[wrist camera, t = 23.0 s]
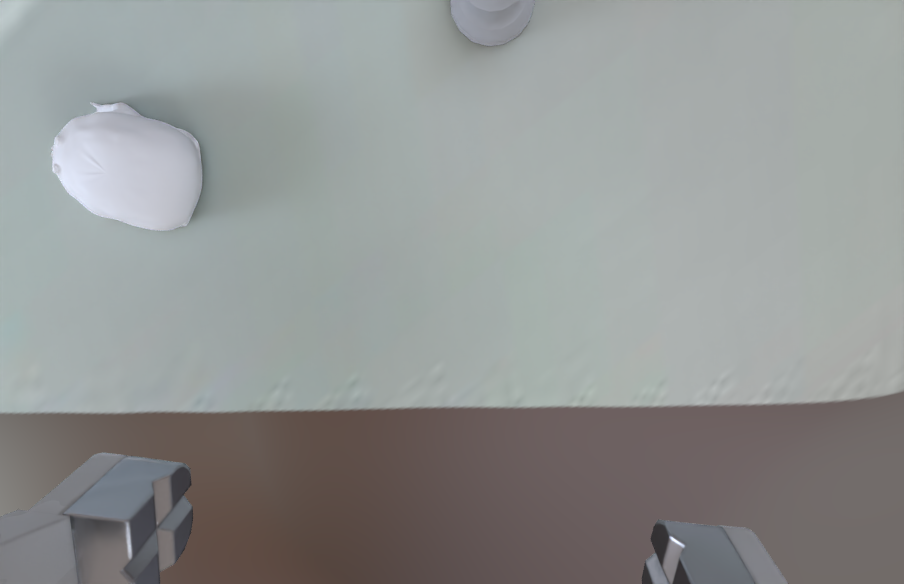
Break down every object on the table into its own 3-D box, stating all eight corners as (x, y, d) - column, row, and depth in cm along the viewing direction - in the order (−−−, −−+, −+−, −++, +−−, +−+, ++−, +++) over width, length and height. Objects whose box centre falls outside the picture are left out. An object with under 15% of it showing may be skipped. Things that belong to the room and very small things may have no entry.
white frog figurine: (75, 202, 35) (27, 211, 31) (85, 89, 33) (35, 85, 29) (202, 239, 35) (169, 253, 31) (220, 130, 33) (187, 131, 29)
